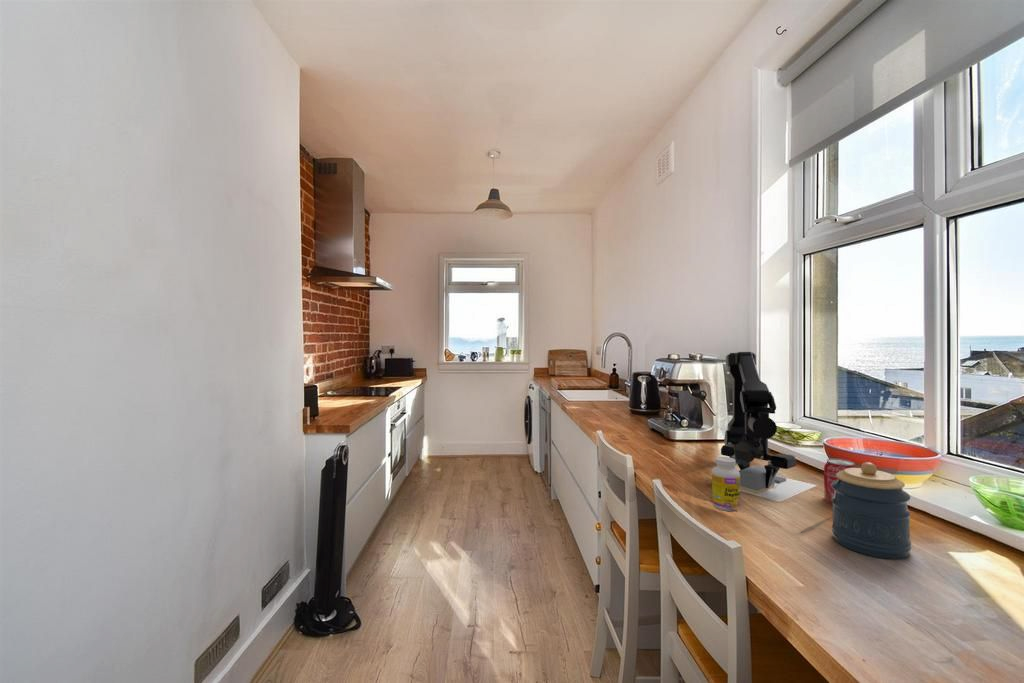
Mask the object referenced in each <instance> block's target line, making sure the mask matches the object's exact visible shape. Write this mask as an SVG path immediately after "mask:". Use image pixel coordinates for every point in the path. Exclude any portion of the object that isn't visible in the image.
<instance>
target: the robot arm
mask: <svg viewBox="0 0 1024 683" xmlns="http://www.w3.org/2000/svg"><path fill="white" fill-rule="evenodd" d="M756 355H757V354H756V353H754V352H752V351H737V352H729V354H727V355H726V356H725V366H726V367H727V370H728V372H729V374H730V375H731V376H732V418H731V419H730V420H729V422H728V423H727V429H726V430H725V434H724V437H723V438H724V439H723V441H724V444H723V445H722V447H721V448H720V455H722V456H723V457H730V458H733V459H735V460H736V465H737V466H738V467H739V470H742V469H745V468H749V467H751V462H753V461H754V459H756V460H757V459H758V460H762V461H766V462H767V463H768V464H765V465H763V467H764V468H765V469H766V488H769V487H770V485H771V483H772V481H773V479H774V477H775V475H776V476H777V474H778V472H779V471H780V469H783V470H788V469H792V468H794V467H797V458H796V457H795V456H794V455H793V454H787V453H782V452H779V453H777V454H770V453H771V449H770V448H769V439H771V438H773V437H774V436H775V435H776V433H777V432H778V431H777V430H778V426H777V424H776V422H775V421H774V420H773V419H772V418H770V414H774V415H775V414H776V411H777V410H776V409H777V404H776V401H775V397H774V395H773V394H772V392H771V391H770V390H769V387H768V385H767V384H766V383H765V382H763V381H761V379H760V375H759V372H758V369H757V356H756Z"/></svg>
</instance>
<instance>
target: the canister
mask: <svg viewBox="0 0 1024 683" xmlns="http://www.w3.org/2000/svg"><path fill="white" fill-rule="evenodd" d="M836 477H837V478H838V480H837V481H834V482H833V483H832V484H831V486H832V488H833V489H834V490H835V493H834V497H833V498H832V502H833V504H832V520H833V521H832V525H831V528H832V529H831V531H832V533H833V538H834V540H835V541H836V542H837V543H838V544H840V545H841V546H842V547H845V548H847V549H849V550H852V551H854V552H857V553H859V554H862V555H866V556H870V557H876V558H881V559H887V560H888V559H889V560H891V559H892V560H896V559H905V558H907V557H908V556H910V553H911V549H912V541H911V526H910V525H911V524H910V523H911V522H910V521H911V519H910V518H911V515H912V514H911V511H910V510H909V509H908V502H909V501H910V500H911V495H910V494H909V493H908V492H906V491H905V490H903V489H904V487H905V486H906V485H905V483H904V482H903V480H901V479H898V478H897V477H896V476H895V475H893V474H891V473H889V472H886V471H883V470H878V469H877V466H876V465H875V464H874V463H872V462H868V461H867V462H863V463H862V464H861V466H860V467H855V468H847V469H844V470H843V471H840V472H838V473H836Z"/></svg>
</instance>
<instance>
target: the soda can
mask: <svg viewBox="0 0 1024 683" xmlns="http://www.w3.org/2000/svg"><path fill="white" fill-rule="evenodd" d="M847 468H856V466H855V462H853V461H851V460H848V459H843V458H827V459H826V463H825V464H824V467H823V488H824V489H823V493H824V495H823V497H824V501H825V502H827V503H829V504H832V505H833V502H832V498H833V497H834V493H835V490H834V489H833V488H832V486H831V484H832V483H833V482H834V481H837V480H838V478H837V477H836V473H838V472H840V471H843V470H844V469H847Z"/></svg>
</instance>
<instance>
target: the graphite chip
mask: <svg viewBox="0 0 1024 683" xmlns="http://www.w3.org/2000/svg"><path fill="white" fill-rule="evenodd" d="M786 478H787V477H784V478H783V476H780V477H779V475H776V476H775V477H774V480H775V483H779V484H780V483H782V482H785V481H786Z"/></svg>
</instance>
